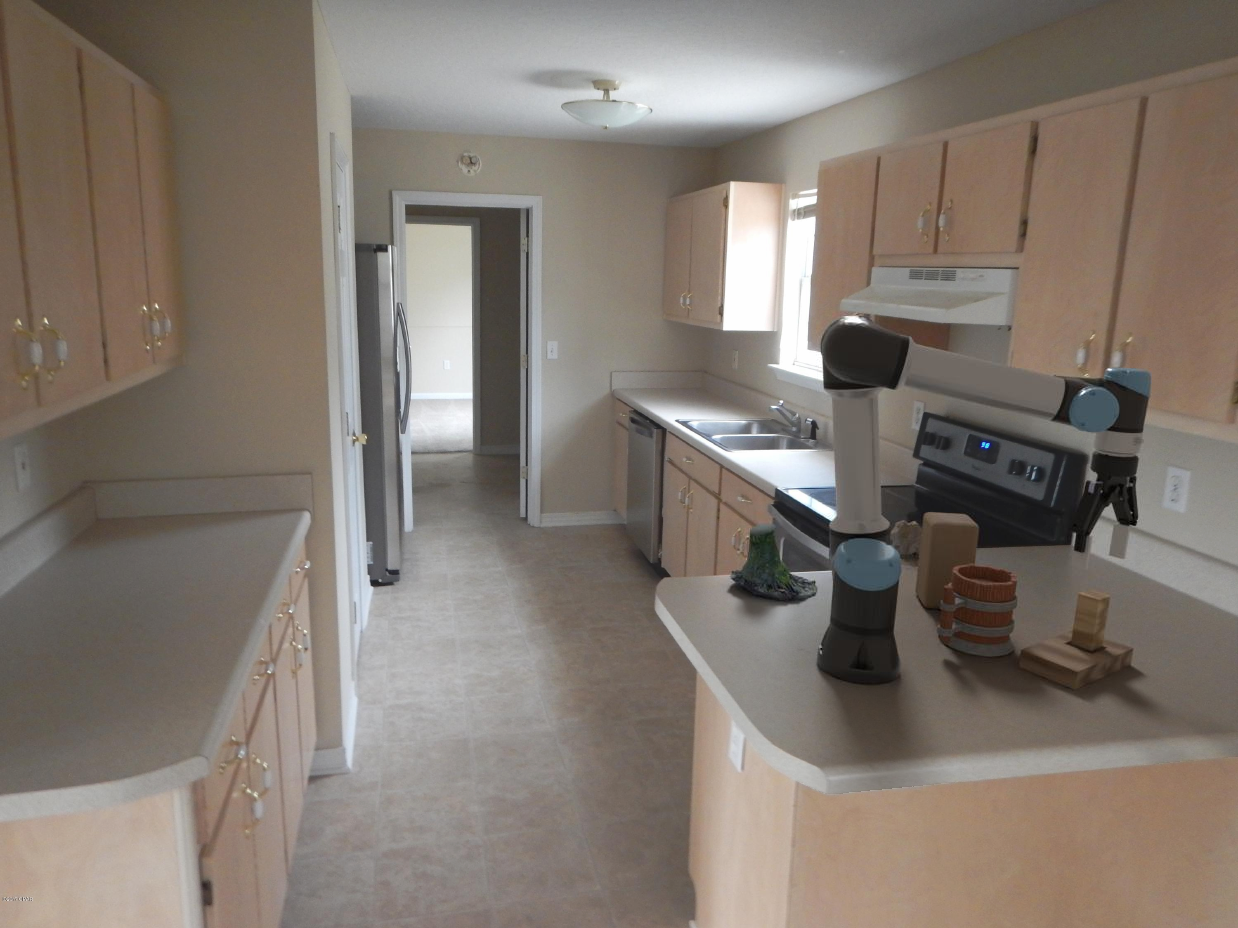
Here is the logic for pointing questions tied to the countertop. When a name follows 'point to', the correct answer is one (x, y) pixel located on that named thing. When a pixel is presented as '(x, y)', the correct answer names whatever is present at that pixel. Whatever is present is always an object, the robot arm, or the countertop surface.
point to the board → (1074, 660)
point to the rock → (906, 538)
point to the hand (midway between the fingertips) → (1098, 562)
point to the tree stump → (770, 569)
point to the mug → (979, 611)
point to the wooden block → (943, 553)
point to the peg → (1090, 621)
